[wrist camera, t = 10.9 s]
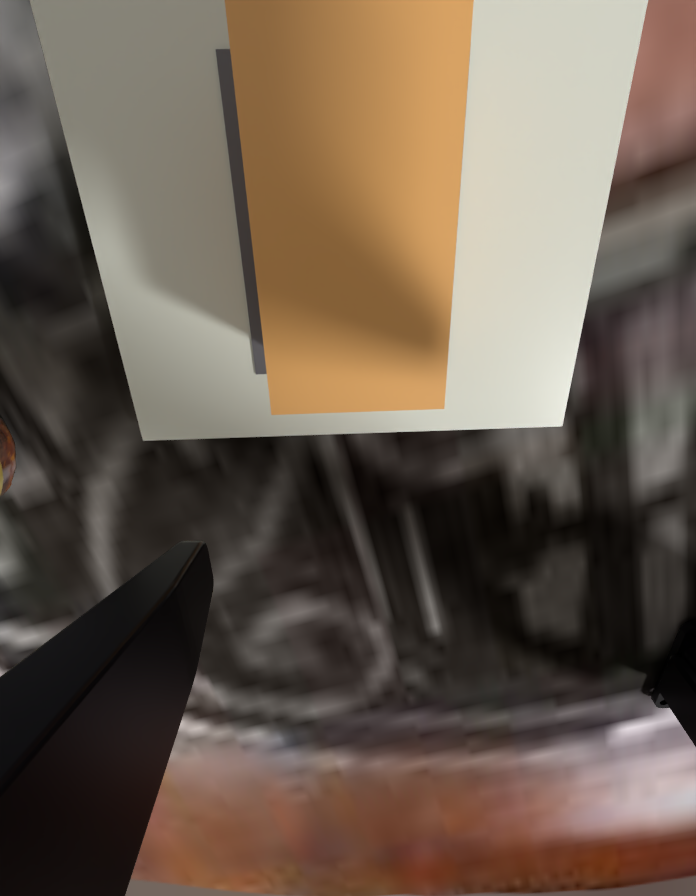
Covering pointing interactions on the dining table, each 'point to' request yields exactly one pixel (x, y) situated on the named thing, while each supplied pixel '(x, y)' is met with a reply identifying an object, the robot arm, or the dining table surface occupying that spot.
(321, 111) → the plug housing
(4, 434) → the sauce bottle
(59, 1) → the board
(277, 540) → the dining table surface
